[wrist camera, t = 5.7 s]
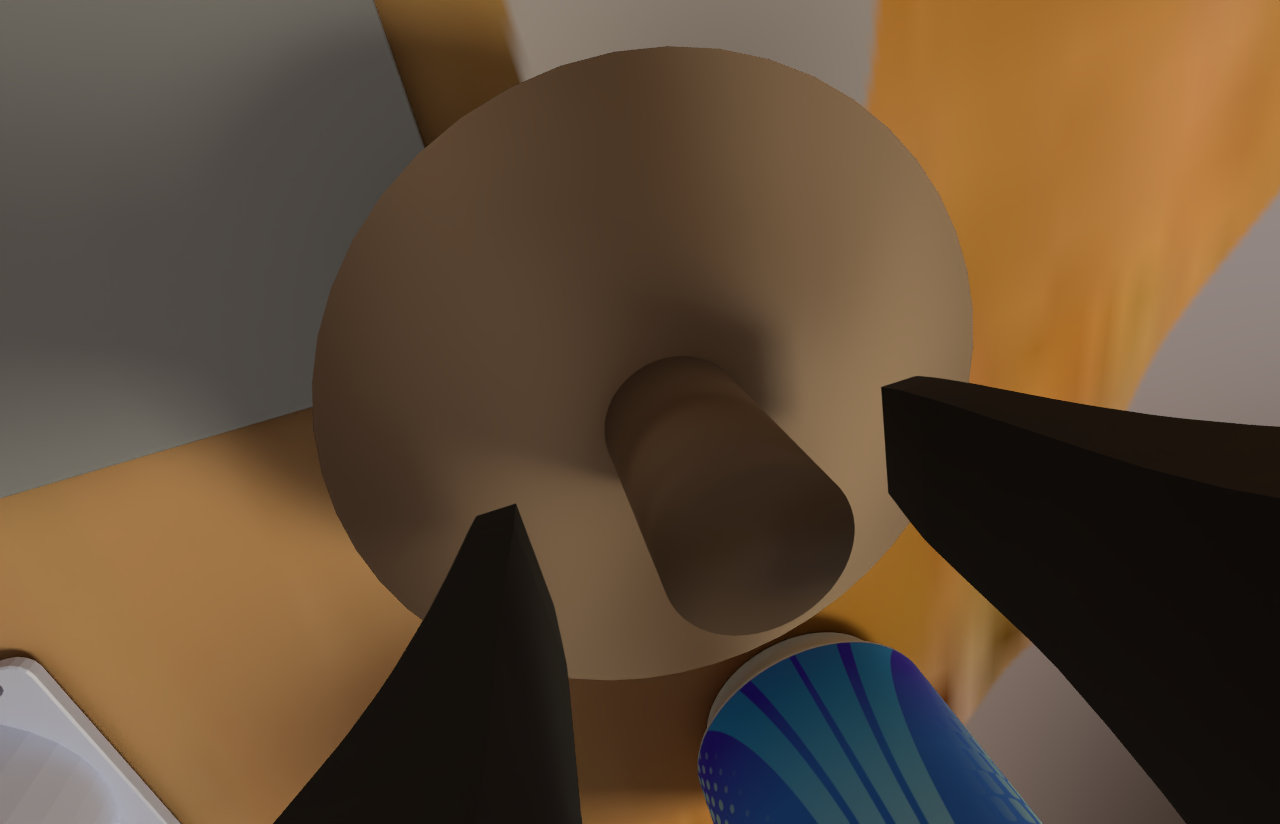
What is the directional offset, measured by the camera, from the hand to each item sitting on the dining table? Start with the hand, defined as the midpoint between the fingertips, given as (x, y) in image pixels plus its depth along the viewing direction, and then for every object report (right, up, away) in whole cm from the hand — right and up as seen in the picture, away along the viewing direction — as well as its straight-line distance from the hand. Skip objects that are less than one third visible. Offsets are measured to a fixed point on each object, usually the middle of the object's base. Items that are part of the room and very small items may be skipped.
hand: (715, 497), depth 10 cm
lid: (-1, +1, +2) cm, 3 cm away
